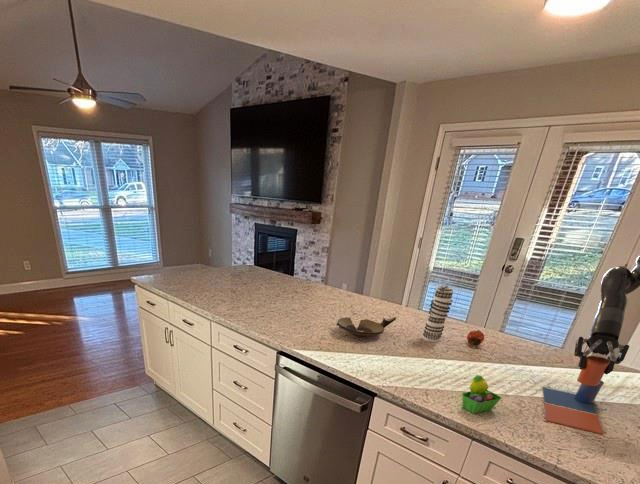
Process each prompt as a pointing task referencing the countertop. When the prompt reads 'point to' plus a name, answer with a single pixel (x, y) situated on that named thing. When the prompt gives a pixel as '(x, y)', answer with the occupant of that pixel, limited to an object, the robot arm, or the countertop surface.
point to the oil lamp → (364, 326)
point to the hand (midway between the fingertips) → (594, 370)
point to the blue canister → (587, 393)
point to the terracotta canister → (593, 370)
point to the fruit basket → (479, 396)
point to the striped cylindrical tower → (438, 313)
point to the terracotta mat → (573, 418)
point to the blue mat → (566, 400)
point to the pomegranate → (475, 337)
